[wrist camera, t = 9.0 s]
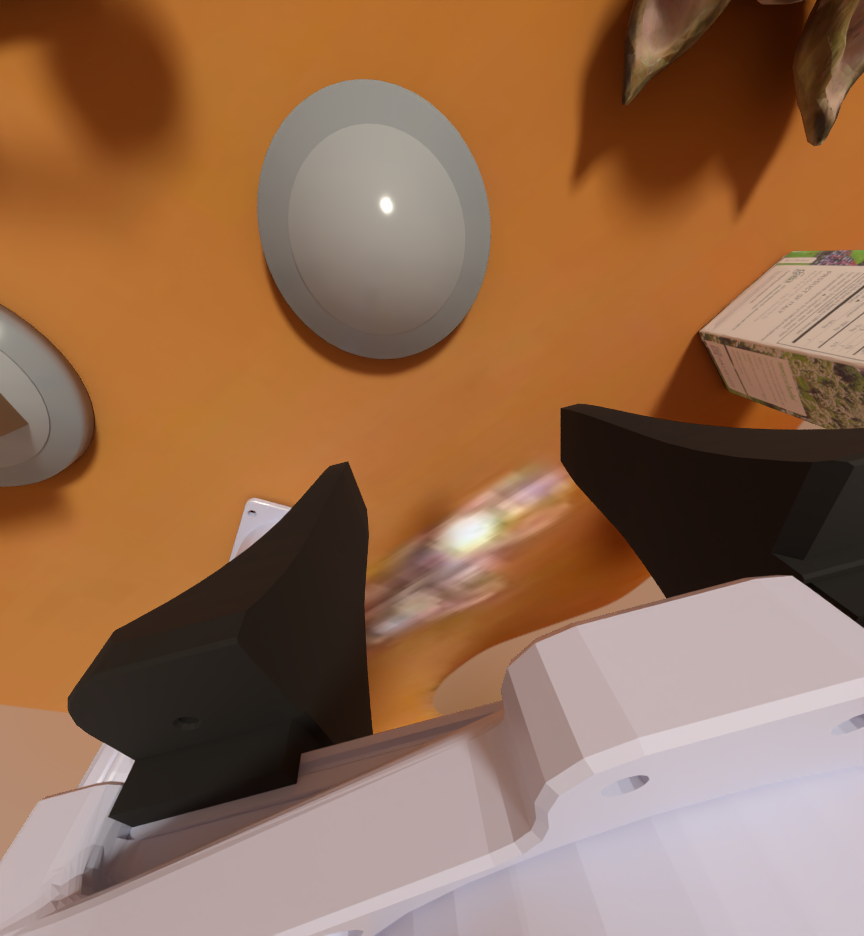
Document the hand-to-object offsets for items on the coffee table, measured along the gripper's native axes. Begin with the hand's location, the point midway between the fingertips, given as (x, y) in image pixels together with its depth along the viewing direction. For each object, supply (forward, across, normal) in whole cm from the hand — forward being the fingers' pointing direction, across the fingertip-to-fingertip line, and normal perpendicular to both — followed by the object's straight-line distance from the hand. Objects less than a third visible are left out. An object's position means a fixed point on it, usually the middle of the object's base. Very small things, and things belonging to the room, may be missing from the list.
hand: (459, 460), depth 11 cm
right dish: (+9, +1, -7) cm, 12 cm away
